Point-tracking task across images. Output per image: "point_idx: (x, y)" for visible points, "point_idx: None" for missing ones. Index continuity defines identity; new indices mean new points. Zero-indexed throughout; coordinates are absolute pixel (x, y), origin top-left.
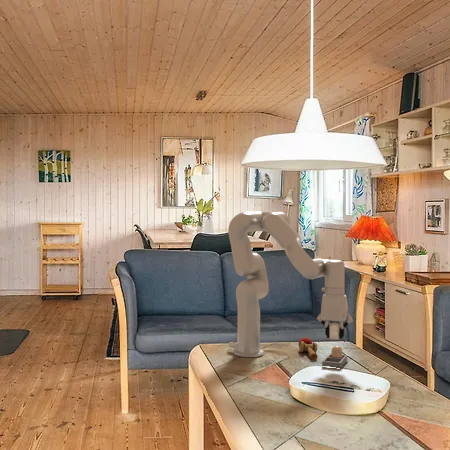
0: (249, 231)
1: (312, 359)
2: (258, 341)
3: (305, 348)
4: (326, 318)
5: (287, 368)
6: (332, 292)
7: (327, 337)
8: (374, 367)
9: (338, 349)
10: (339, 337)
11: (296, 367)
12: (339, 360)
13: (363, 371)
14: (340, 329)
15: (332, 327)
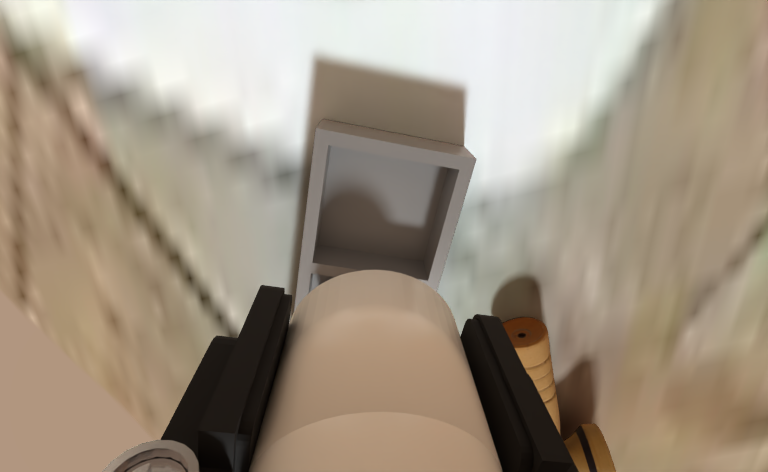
0: None
1: (524, 317)
2: None
3: (571, 445)
4: None
5: (760, 37)
6: None
7: (486, 316)
8: (86, 246)
9: None
10: (286, 303)
11: (673, 91)
12: (335, 259)
13: (131, 115)
14: (218, 421)
15: (436, 461)
